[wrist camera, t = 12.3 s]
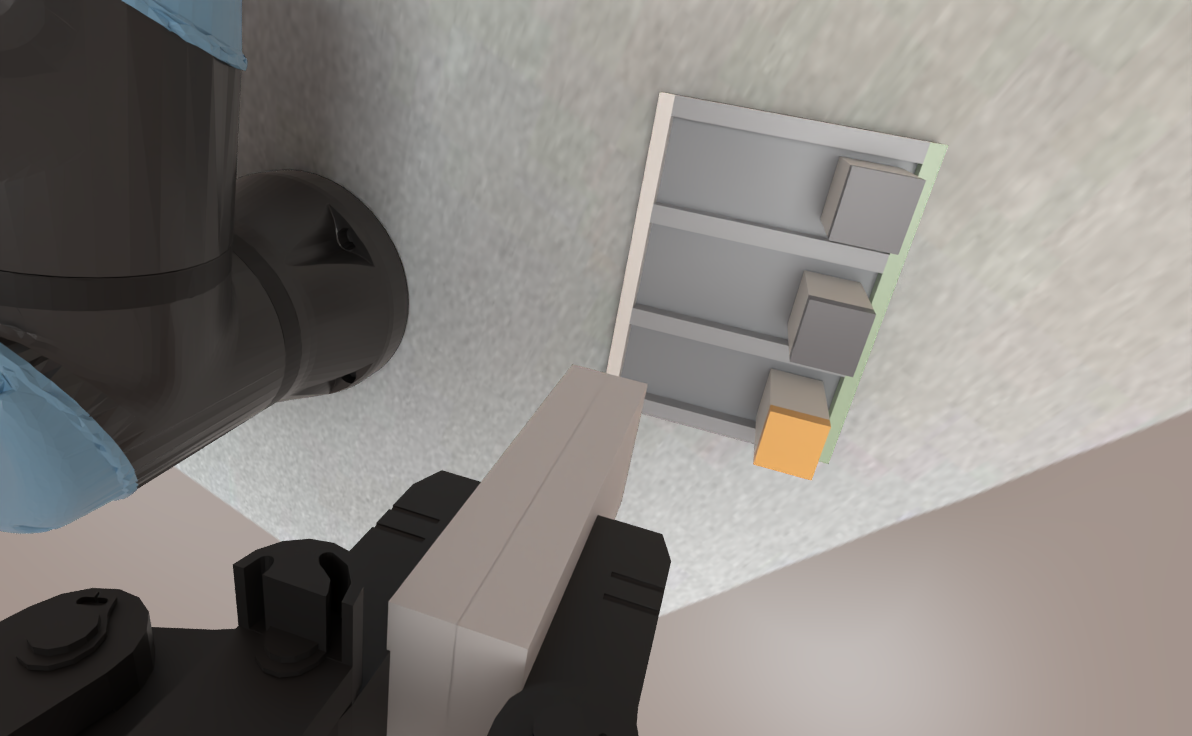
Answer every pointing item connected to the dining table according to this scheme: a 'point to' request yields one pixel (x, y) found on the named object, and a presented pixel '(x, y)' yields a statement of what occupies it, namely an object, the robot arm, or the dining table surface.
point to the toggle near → (870, 205)
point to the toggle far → (791, 424)
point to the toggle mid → (829, 323)
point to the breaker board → (743, 258)
